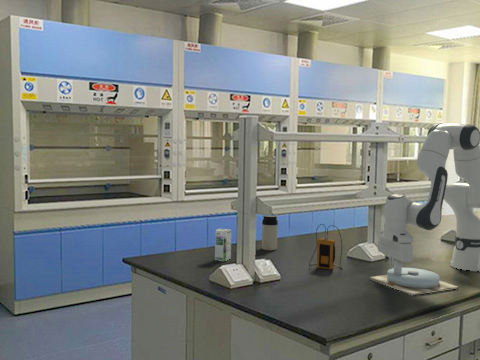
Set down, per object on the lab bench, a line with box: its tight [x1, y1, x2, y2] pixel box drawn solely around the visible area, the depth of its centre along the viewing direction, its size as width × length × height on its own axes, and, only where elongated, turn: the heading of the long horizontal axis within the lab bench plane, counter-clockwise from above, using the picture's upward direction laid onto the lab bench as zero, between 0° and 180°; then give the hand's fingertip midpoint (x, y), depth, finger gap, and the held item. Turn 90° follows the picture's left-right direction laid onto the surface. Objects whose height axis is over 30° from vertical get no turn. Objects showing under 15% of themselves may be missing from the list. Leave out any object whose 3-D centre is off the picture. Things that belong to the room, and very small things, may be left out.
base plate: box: [369, 274, 459, 295], centre depth 204 cm, size 24×24×2 cm
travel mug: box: [261, 215, 279, 252], centre depth 263 cm, size 8×8×18 cm
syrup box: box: [214, 228, 232, 262], centre depth 238 cm, size 6×6×14 cm
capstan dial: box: [386, 259, 441, 288], centre depth 204 cm, size 20×20×9 cm
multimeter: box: [308, 223, 343, 270], centre depth 229 cm, size 15×10×20 cm
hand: (393, 267), depth 206 cm, fingers closed
